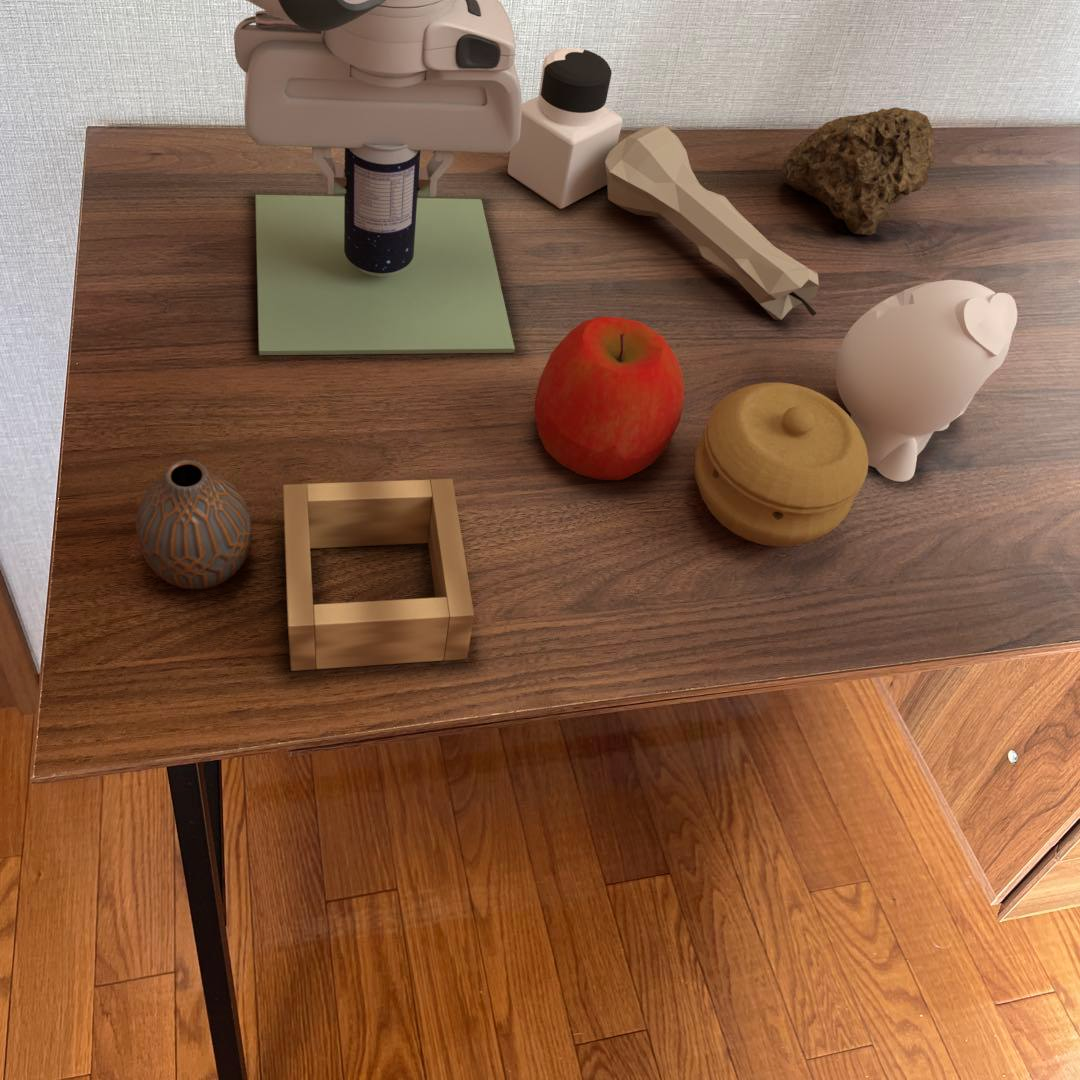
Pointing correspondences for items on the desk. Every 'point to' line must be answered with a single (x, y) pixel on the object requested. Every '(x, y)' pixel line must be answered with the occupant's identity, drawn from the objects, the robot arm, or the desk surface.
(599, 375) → the apple
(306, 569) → the holder
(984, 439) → the desk surface
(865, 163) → the brown porous lump
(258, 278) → the mat
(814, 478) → the pot
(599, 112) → the medicine bottle
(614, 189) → the faceted club
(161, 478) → the vase
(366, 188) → the beverage can
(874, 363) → the figurine
